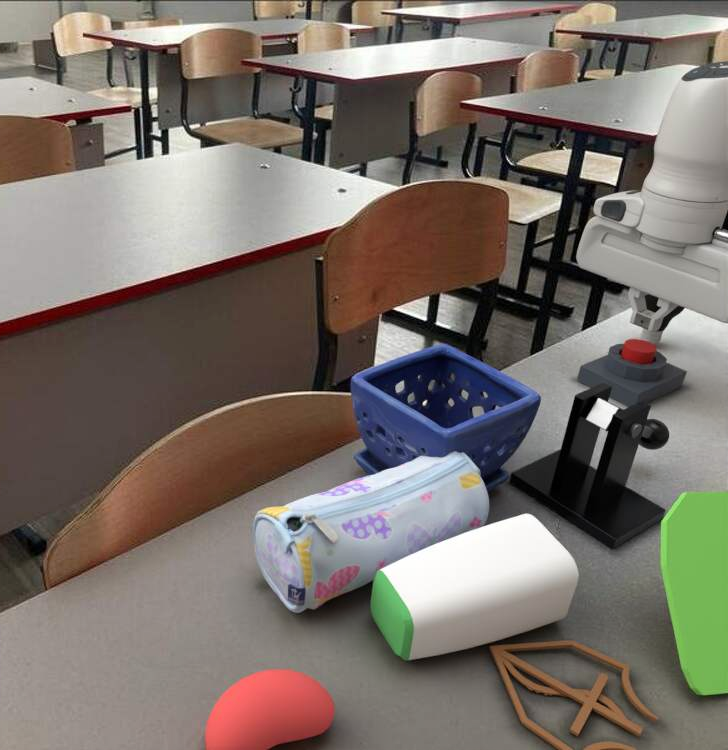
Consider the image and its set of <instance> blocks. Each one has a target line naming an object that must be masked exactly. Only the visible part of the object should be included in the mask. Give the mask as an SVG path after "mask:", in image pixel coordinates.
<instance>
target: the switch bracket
mask: <svg viewBox="0 0 728 750" xmlns="http://www.w3.org/2000/svg"><path fill="white" fill-rule="evenodd" d="M611 390H612V387H611V386H609V385H607V384H605V383H602V384H599V385H597V386H595V387H593V388H591V387H589V388H588V389H586V390H584V391H581V392H579V393H577V394H575V395H574V398H573V401H572V405H571V409H570V413H569V417H568V421H567V424H566V428H565V431H564V436H563V438H562V439H563V440H562V443H561V447H560V449H558V450H556V451H553V452H552V453H550V454H548V455H546V456H543V457H541V458H539V459H537V460H535V461H533V462H531V463H529V464H527V465H525V466H523V467H521V468H519V469H517V470H514V471H513V472H511V473H510V476H509V483H511V484H512V485H513V486H515V487H516V488H518V489H519V490H521V491H522V492H524V493H526V494H527V495H528V496H530V497H532V498H533V499H535V500H536V501H538V502H540V503H541V504H542V505H543V506H545V507H547V508H548V509H549V510H551V511H553V512H555V513H556V514H558V515H559V516H561V517H562V518H564V519H565V520H567V521H568V522H570V523H571V524H573V525H574V526H576V527H578V528H579V529H581V530H582V531H584V532H586V533H587V534H588V535H590V536H592V537H593V538H594V539H596V540H597V541H599V542H601V543H602V544H604V545H605V546H607V547H608V548H610V549H611V550H614V549H616V548H617V547H618V546H620V545H622V544H624V543H625V542H627V541H629V540H630V539H632V538H634V537H635V536H637V535H639V534H640V533H642V532H643V531H645V530H647V529H648V528H651V526H653V525H655V524H657V523H659V522H661V521H662V520H663V519H664V517H665V515H666V514H665V513H666V509H665V508H664V507H662V506H660V505H659V504H657V503H655V502H653V501H652V500H650V499H649V498H646V497H645V496H643V495H641V494H639V493H638V492H636V491H635V490H633V489H631V488H630V487H628V486H627V483H628V480H629V477H630V473H631V470H632V468H633V463H634V461H635V458H636V455H637V452H638V449H639V446H640V445H639V443H640V439H641V436H642V433H643V430H644V427H645V424H646V421H647V419H649V415H650V411H651V408H652V405H651V404H649V403H645V402H643V401H641V402H639V403H636V404H634V405H632V406H630V407H629V406H627V407H626V408H623V409H624V410H622V411H619V412H617V413H615V414H613V416H612V420H611V423H610V426H609V430H608V431H607V432H606V437H605V441H604V443H603V447H602V451H601V453H600V456H599V460H598V463H597V467H596V468H595V467H593V466H591V462H592V459H593V455H594V451H595V448H596V444H597V441H598V438H599V435H600V432H601V428H600V427H598V426H596V425H594V424H592V423H590V422H589V421H587V420H586V418H587V416H588V414H589V413H590V411H591V409H592V408H593V406H594V404H595V403H596V401H597V399H598V398H601V399H603V400H605V401H608V402H609V400H610V398H611V397H610V393H611Z"/></svg>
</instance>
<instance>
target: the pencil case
mask: <svg viewBox="0 0 728 750" xmlns="http://www.w3.org/2000/svg"><path fill="white" fill-rule="evenodd" d="M480 475H481V473H480V470H479V469H478V467H477V466H476V465H475V464H474V463H473V462H472V460H471V459H470V458H469V457H468V456H467V455H466V454H465V453H463V452H462V453H460V452H456V451H454V452H451V453H450V454H448V455H447V456H445V457H442V458H440V457H428V456H419V457H418V458H416V459H414V460H413V461H410V462H407V463H404V464H402V465H400V466H398V467H394V468H390V469H386V470H384V471H381V472H379V473H377V474H374V475H369V474H368V475H365V476H362V477H358V478H356V479H353V480H350V481H348V482H345V483H343V484H341V485H338V486H335V487H333V488H331V489H329V490H327V491H323V492H319V493H318V492H317V493H314V494H311V495H307V496H305V497H302V498H298V499H296V500H294V501H292V502H289V503H286V504H285V505H283V506H270V507H265V508H262V509H261V510H258V511H257V512H256V513H255V515H254V520H253V524H252V537H253V544H254V552H255V553H254V554H255V557H256V560H257V563H258V566H259V569H260V572H261V574H262V576H263V578H264V579H265V581H266V582H267V584H268V585H269V586H270V588H271V590H272V591H273V592H274V593H275V594H276V596H277V597H278V599H279V600H280V601H281V603H282V604H283V605H284V606H285V607H286V608H287V609H288V610H289V611H290V612H293V613H295V614H299V613H300V614H301V613H302V612H304V611H306V610H307V609H310V610H316V609H317V608H319V607H320V606H322V605H323V604H325V603H326V602H328V601H329V600H332V599H335V598H336V597H338V596H342V595H344V594H346V593H349V592H352V591H354V590H356V589H358V588H361V587H363V586H365V585H367V584H369V583H371V582H373V581H374V579H375V576H376V573H377V571H378V570H380V569H382V568H384V567H386V566H388V565H390V564H392V563H394V562H396V561H398V560H400V559H403V558H405V557H407V556H409V555H411V554H414V553H416V552H418V551H420V550H423V549H425V548H427V547H429V546H432V545H434V544H437V543H439V542H442V541H445V540H447V539H450V538H453V537H455V536H458V535H460V534H463V533H466V532H469V531H472V530H475V529H478V528H481V527H484V526H485V524H486V523H487V520H488V516H489V513H490V497H489V493H488V492H487V490H486V487H485V484H484V482H483V480H482V478H481V477H480Z"/></svg>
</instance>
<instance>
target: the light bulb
mask: <svg viewBox="0 0 728 750" xmlns="http://www.w3.org/2000/svg"><path fill="white" fill-rule="evenodd" d="M658 299H659V298H658V297H655V296H653V295H650V294H648V295H645V302H646V308H647V310H650V311H652V312H654V313H656V312H657V311H658V310H659V309H660V308H661V307H659V306H657V303H658ZM684 310H685V308H684V307H681V306H679V305H678V306H677V307H676V308H675V309H674V310H672V311H671V312H670V313H669V314H667V315H666V316H665V317H664V318H663V321H662V324H661V327H660V328H659V330H657V331H655V332H651V331H649V330H646V329H644V328H642V331H641V334H640V340H644V341H647V342H650V343H652V344H653V345H655V344H658V343H660V342H661V339H662V336H663V333H664V331H665V330H666V328H668V326H669V325H670V322H671V321H672V320H673V319H674V318H675V317H677V316H679V315H680V314H681V313H682V312H683V311H684Z"/></svg>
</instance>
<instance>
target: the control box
mask: <svg viewBox="0 0 728 750" xmlns="http://www.w3.org/2000/svg"><path fill="white" fill-rule="evenodd" d="M623 346H624V343H616V344H613V345H611V346H609V348H608V352H607V354H606V355H603V356H600V357H599V358H596V359H593V360H590V361H589V362H586V363H584V364H582V365H580V368H579V371H578V375H577V378H576V381H577V382H578V383H581V384H583V385H584V386H587V387H589V388H593V387H595V386H597V385H599V384H602V383H605V384H607V385H609V386H611V387H612V390H611V393H610V397H609V398H612V399H613V400H615V401H618V402H619V403H620V404H623V405H625V406H627V407H630V406H632V405H634V404H636V403H639V402H641V401H643V402H645V403H647V404H649V403H651V402H652V401H654V400H657V399H659V398H661V397H663V396H665V395H667V394H669V393H671V392H673V391H676V390H677V389H680V388H682V387H683V385H684V382H685V379H686V376H687V373H688V371H687V370H684V369H683V368H680V367H678V366H676V365H673V364H671V363H669V362H667V360H668V359H667V358H666V357H665V356H664V355H663V354H662V353H661V352H660V351H658V350H656V353H655V356H654V359H653V362H652V363H651V364H638V363H633V362H630V361H628V360H626V359H624V358H623V357H622V356H621V353H622V350H623Z"/></svg>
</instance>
